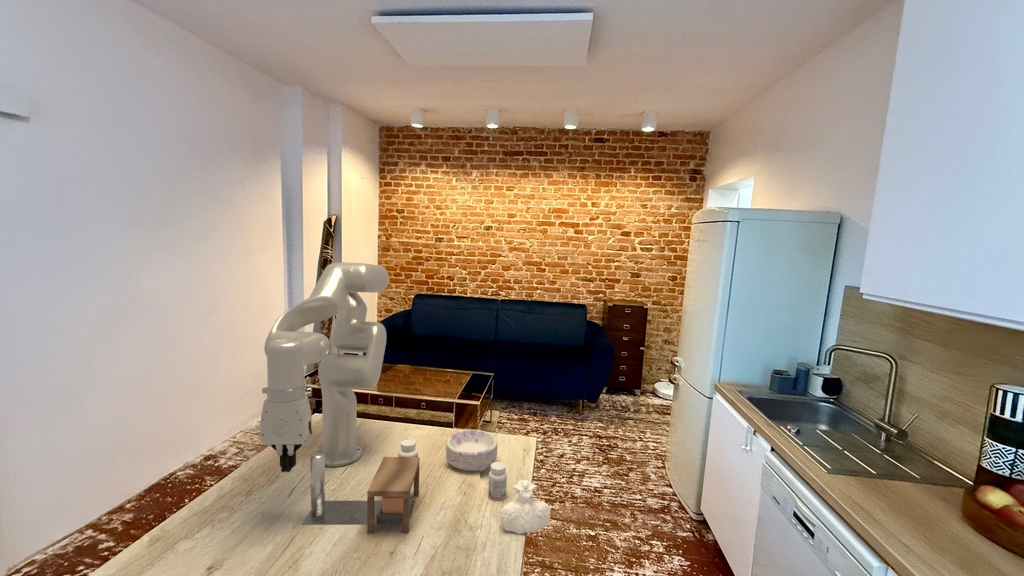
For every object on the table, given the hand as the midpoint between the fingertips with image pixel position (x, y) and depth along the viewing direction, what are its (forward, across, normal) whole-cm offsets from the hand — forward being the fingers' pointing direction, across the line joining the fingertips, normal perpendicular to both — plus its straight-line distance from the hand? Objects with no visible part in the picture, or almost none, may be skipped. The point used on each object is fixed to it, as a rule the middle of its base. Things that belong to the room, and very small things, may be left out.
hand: (288, 468), depth 99 cm
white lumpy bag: (+12, +56, -3) cm, 57 cm away
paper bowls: (+12, +42, +24) cm, 50 cm away
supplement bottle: (+12, +24, +19) cm, 33 cm away
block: (+11, +25, 0) cm, 27 cm away
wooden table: (+12, +28, 0) cm, 30 cm away
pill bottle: (+12, +50, +9) cm, 52 cm away
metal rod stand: (+12, +17, 0) cm, 20 cm away
